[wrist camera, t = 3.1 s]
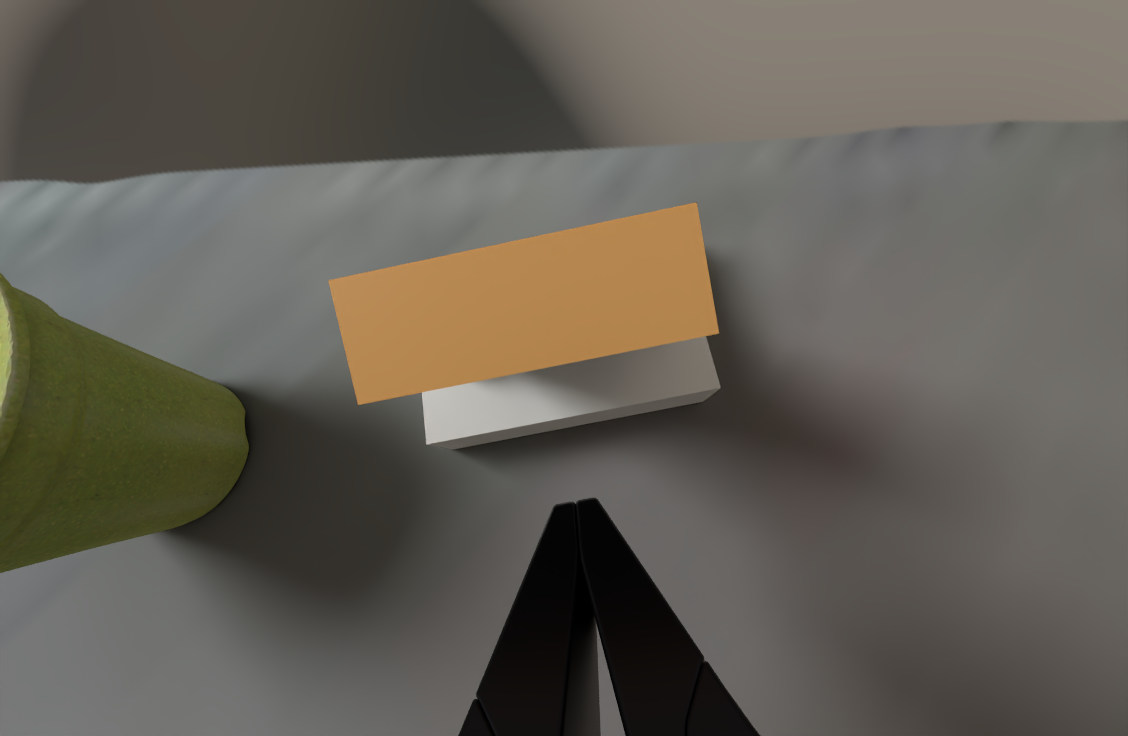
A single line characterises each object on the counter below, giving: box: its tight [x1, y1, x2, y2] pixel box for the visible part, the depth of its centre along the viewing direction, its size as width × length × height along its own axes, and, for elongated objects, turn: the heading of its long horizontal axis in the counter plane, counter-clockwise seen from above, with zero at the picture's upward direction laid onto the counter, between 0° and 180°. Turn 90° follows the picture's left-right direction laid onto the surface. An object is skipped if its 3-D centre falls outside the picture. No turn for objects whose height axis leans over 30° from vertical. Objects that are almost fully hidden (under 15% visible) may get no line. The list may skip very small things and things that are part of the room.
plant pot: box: [0, 273, 249, 573], centre depth 13 cm, size 9×9×9 cm
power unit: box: [422, 336, 721, 450], centre depth 15 cm, size 7×10×4 cm
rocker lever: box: [328, 202, 719, 405], centre depth 10 cm, size 2×5×8 cm, turn 100°
